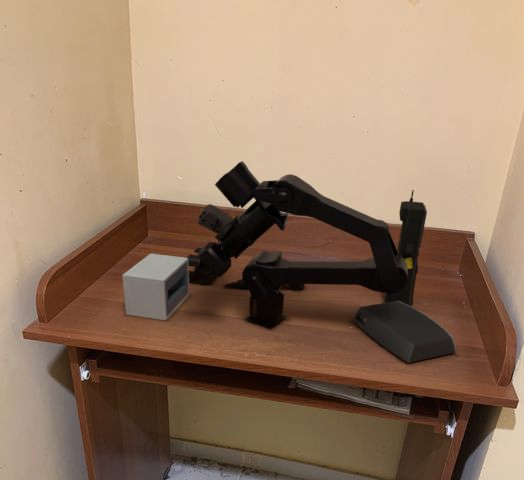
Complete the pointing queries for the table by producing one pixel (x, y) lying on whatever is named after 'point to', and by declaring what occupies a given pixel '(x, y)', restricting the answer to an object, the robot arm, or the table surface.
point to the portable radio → (409, 246)
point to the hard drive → (405, 331)
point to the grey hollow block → (156, 286)
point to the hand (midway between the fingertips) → (198, 271)
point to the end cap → (194, 261)
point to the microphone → (242, 285)
